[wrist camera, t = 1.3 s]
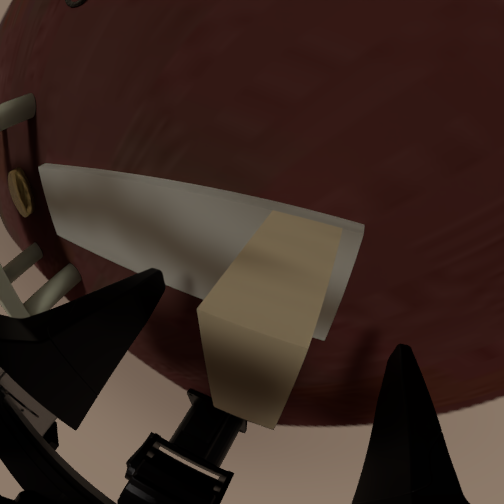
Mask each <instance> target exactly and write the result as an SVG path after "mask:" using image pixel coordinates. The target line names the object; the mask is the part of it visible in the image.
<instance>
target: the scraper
mask: <svg viewBox="0 0 504 504" xmlns="http://www.w3.org/2000/svg"><path fill="white" fill-rule="evenodd" d="M38 169H39V174H40V178H41V182H42V186H43V190H44V194H45V197H46V201H47V205H48V208H49V211H50V215H51V218H52V221H53V224H54V227H55V230H56V233H57V235H59V236H61V237H63V238H65V239H67V240H69V241H71V242H73V243H75V244H77V245H79V246H81V247H83V248H85V249H87V250H89V251H91V252H93V253H95V254H97V255H100V256H102V257H104V258H106V259H108V260H110V261H112V262H115V263H117V264H119V265H121V266H124V267H126V268H128V269H130V270H133V271H135V272H137V273H140V272H142V271H145V270H147V269H150V268H156V269H159V270H161V271H162V273H163V277H164V282H165V285H168V286H170V287H173V288H175V289H178V290H180V291H183V292H185V293H188V294H190V295H193V296H195V297H198V298H200V299H203V301H202V303H201V304H200V305H199V307H198V308H197V314H198V321H199V328H200V334H201V340H202V347H203V352H204V358H205V364H206V370H207V375H208V380H209V386H210V391H211V396H212V401H213V405H214V407H216V408H218V409H220V410H223V411H225V412H227V413H230V414H232V415H235V416H237V417H240V418H242V419H245V420H247V421H250V422H253V423H255V424H258V425H261V426H264V427H267V428H269V429H273V430H274V428H275V426H276V424H277V422H278V419H279V417H280V415H281V413H282V411H283V408H284V406H285V404H286V402H287V399H288V397H289V395H290V393H291V390H292V388H293V386H294V383H295V381H296V378H297V376H298V373H299V371H300V369H301V366H302V364H303V361H304V358H305V356H306V353H307V351H308V348H309V345H310V342H311V339H312V337H313V338H317V339H320V340H323V341H325V338H326V336H327V334H328V331H329V329H330V327H331V324H332V322H333V319H334V317H335V314H336V312H337V309H338V307H339V304H340V301H341V299H342V296H343V293H344V291H345V288H346V285H347V283H348V280H349V277H350V274H351V271H352V268H353V266H354V263H355V260H356V257H357V254H358V251H359V247H360V244H361V241H362V238H363V235H364V224H360V223H357V222H353V221H349V220H346V219H342V218H339V217H335V216H331V215H327V214H324V213H320V212H316V211H312V210H308V209H304V208H300V207H296V206H292V205H288V204H284V203H279V202H275V201H271V200H267V199H262V198H258V197H253V196H249V195H244V194H240V193H235V192H230V191H225V190H220V189H215V188H210V187H205V186H200V185H195V184H189V183H184V182H178V181H173V180H167V179H161V178H155V177H149V176H143V175H136V174H130V173H123V172H116V171H109V170H101V169H93V168H85V167H77V166H67V165H58V164H47V163H45V164H43V165H41V166H39V167H38Z"/></svg>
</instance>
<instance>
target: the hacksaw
mask: <svg viewBox="0 0 504 504" xmlns="http://www.w3.org/2000/svg"><path fill="white" fill-rule="evenodd" d="M84 1H85V0H79V1H76V2H72V1H71V0H65V2H66V4H67V5H68V6H70V7H76V6H79V5H81V4H83V3H84Z"/></svg>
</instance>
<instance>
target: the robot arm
mask: <svg viewBox="0 0 504 504" xmlns="http://www.w3.org/2000/svg"><path fill="white" fill-rule="evenodd" d="M164 291H165V282H164V277H163V273H162V271H161V270H159V269H156V268H150V269H147V270H145V271H142V272H140V273H138V274H135V275H133V276H130V277H128V278H125V279H123V280H121V281H118V282H116V283H113V284H111V285H109V286H106V287H104V288H101V289H99V290H97V291H94V292H92V293H89V294H87V295H85V296H82V297H80V298H78V299H77V300H73V301H71V302H68V303H66V304H63V305H61V306H58V307H56V308H53V309H50V310H47V311H44V312H41V313H39V314H36V315H33V316H30V317H27V318H13V317H9V316H4V315H0V459H1V460H2V462H3V463H4V465H5V466H6V467H7V469H8V470H9V471H10V473H11V474H12V475H13V477H14V478H15V479H16V481H17V482H18V483H19V484H20V486H21V487H22V488H23V489H24V491H22V492H20V493H19V494H18V496H17V497H16V499H15V500H12V499H9V498H6V497H2V496H1V495H0V504H116V503H115V502H113V501H112V500H111V499H109V498H108V497H107V496H105V495H104V494H103V493H102V492H100V491H99V490H98V489H96V488H95V487H94V486H93V485H92V484H90V483H89V482H88V481H87V480H86V479H84V478H83V477H82V476H81V475H80V474H79V473H78V472H76V471H75V470H74V469H73V468H72V467H71V466H70V465H69V464H68V463H67V462H66V461H65V460H64V459H63V458H62V457H60V455H59V454H58V453H57V452H56V451H55V450H56V449H57V447H58V446H59V443H58V433H57V423H56V422H55V420H56V419H57V418H59V419H60V420H61V421H63V422H64V423H66V424H67V425H68V426H70V427H71V428H73V429H74V430H77V429H78V427H79V425H80V424H81V422H82V421H83V419H84V417H85V416H86V414H87V412H88V411H89V409H90V408H91V406H92V404H93V403H94V401H95V399H96V398H97V396H98V395H99V393H100V391H101V390H102V388H103V387H104V385H105V384H106V382H107V381H108V379H109V377H110V376H111V374H112V373H113V371H114V370H115V368H116V367H117V365H118V364H119V362H120V361H121V359H122V358H123V356H124V355H125V353H126V352H127V350H128V349H129V347H130V346H131V344H132V343H133V341H134V340H135V339H136V337H137V336H138V334H139V333H140V331H141V330H142V328H143V327H144V326H145V324H146V323H147V321H148V319H149V318H150V316H151V314H152V312H153V311H154V309H155V307H156V305H157V303H158V302H159V300H160V298H161V296H162V295H163V293H164ZM187 395H188V397H189V399H190V401H191V404H192V406H191V408H190V409H189V411H188V412H187V414H186V416H185V417H184V419H183V420H182V422H181V423H180V425H179V427H178V428H177V430H176V431H175V433H174V435H173V436H172V438H171V439H170V441H169V442H168V441H167V440H165V439H163V438H161V436H159V435H158V434H156V433H155V434H154V433H152V432H151V433H150V435H149V437H148V438H147V439H146V441H145V442H144V443H143V445H142V446H141V447H140V448H139V449H138V450H137V451H136V452H135V453H134V455H132V457H131V458H130V459H129V460H128V461H127V463H126V464H127V471H126V475H125V478H126V479H128V480H129V481H128V483H127V485H126V486H125V488H124V489H123V491H122V493H121V495H120V498H119V499H118V504H220V503H221V500H222V498H223V496H224V494H225V492H226V490H227V488H228V485H229V483H230V481H231V479H232V477H233V475H234V473H233V472H230V471H226V470H224V469H221V468H219V467H220V465H221V464H222V462H223V460H224V458H225V456H226V454H227V453H228V451H229V449H230V447H231V445H232V443H233V441H234V440H235V438H236V436H237V434H238V432H239V431H240V432H242V433H245V432H246V429H247V420H245V419H242V418H240V417H237V416H235V415H232V414H230V413H227V412H225V411H223V410H220V409H218V408H216V407H214V405H213V401H212V399H210V398H208V397H206V396H204V395H202V394H199V393H197V392H195V391H193V390H191V389H189V390H188V391H187ZM441 431H442V430H441V427H440V424H439V420H438V417H437V414H436V411H435V408H434V406H433V403H432V400H431V397H430V394H429V392H428V389H427V386H426V384H425V381H424V378H423V376H422V373H421V371H420V368H419V366H418V364H417V361H416V359H415V356H414V354H413V352H412V349H411V347H410V346H408V345H404V344H398V345H397V347H396V348H395V350H394V351H393V353H392V354H391V355H390V357H389V359H388V362H387V366H386V370H385V374H384V378H383V382H382V386H381V390H380V394H379V397H378V401H377V406H376V412H375V417H374V423H373V427H372V432H371V437H370V441H369V446H368V450H367V454H366V458H365V462H364V465H363V469H362V473H361V476H360V479H359V483H358V486H357V489H356V492H355V495H354V498H353V501H352V504H470V503H469V502H468V501H467V500H466V498H465V497H464V495H463V492H462V490H461V487H460V484H459V481H458V478H457V475H456V472H455V470H454V467H453V464H452V461H451V458H450V456H449V453H448V449H447V446H446V443H445V440H444V436H443V433H442V432H441ZM160 446H161V447H163V448H164V449H166V450H168V451H170V452H171V453H173V454H175V455H177V456H179V457H181V458H182V459H184V460H186V461H188V462H190V463H192V464H194V465H196V466H198V467H200V468H202V469H204V470H206V471H209V472H211V473H213V474H215V475H217V476H220V477H219V479H218V480H217V479H215V478H213V477H210V476H208V475H206V474H204V473H202V472H200V471H197V470H196V469H194V468H192V467H190V466H188V465H186V464H184V463H182V462H180V461H178V460H176V459H174V458H173V457H171V456H169V455H167V454H166V453H164V452H162V451H160V450H159V447H160Z"/></svg>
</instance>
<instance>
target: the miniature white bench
mask: <svg viewBox="0 0 504 504" xmlns="http://www.w3.org/2000/svg"><path fill="white" fill-rule="evenodd" d="M35 111H36V102H35V98H34V95H33V94H32V93H30V94H27V95H24V96H21V97H18V98H16V99H13V100H10V101H8V102H5V103H2V104H0V131H2V130H4V129H6V128H9V127H11V126H13V125H16V124H18V123H20V122H23V121H25V120H28V119H30V118H33V117H34V115H35ZM42 257H43V254H42V251H41V249H40V247H39V246H38V244H37V243H36V242H34V243H33V244H32V245H31V246H29V247H28V248H27V249H25V250H24V251H23V252H22V253H20V254H19V255H18V256H17V257H15V258H14V259H13V260H12V261H10V262H9V263H8V264H7V265H6V266H5V267H3V268H2V266H1V264H0V304H1V306H2V307H3V308H4V310H5V311H6V313H7V314H8V315H9V317H13V318H27V317H30V316H33V315H36V314H39V313H41V312H44V311H47V310H50V309H51V308H52V307H53V306H54V305H55V304H56V303H57V302H58V301H59V300H60V299H61V298H62V297H63V296H64V295H65V294H66V293H68V292H69V291H70V290H71V289H72V288H73V287H74V286H75V285H76V284H78V283H79V282H80V281H81V276H80V274H79V272H78V270H77V269H76V268H75V267H74V266H73V265H72V264H71V263H69V264H68V265H67V266H65V267H64V268H63V269H62V270H61V271H59V272H58V273H57V274H56V275H55V276H53V277H52V278H51V279H50V280H49V281H48V282H47V283H45V284H44V285H43V286H42V287H41V288H40V289H39V290H38V291H37V292H36V293H34V294H33V295H32V296H31V297H30V298H29V299H28V300H27V301H26V302H25V303H24V304H22V302H21V301H20V299H19V297H18V295H17V294H16V292H15V290H14V289H13V287H12V285H11V283H12V282H13V281H15V280H16V279H17V278H18V277H19V276H20V275H21V274H23V273H24V272H25V271H26V270H27V269H28V268H30V267H31V266H32V265H33V264H35V263H36V262H37V261H38V260H39V259H41V258H42Z"/></svg>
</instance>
